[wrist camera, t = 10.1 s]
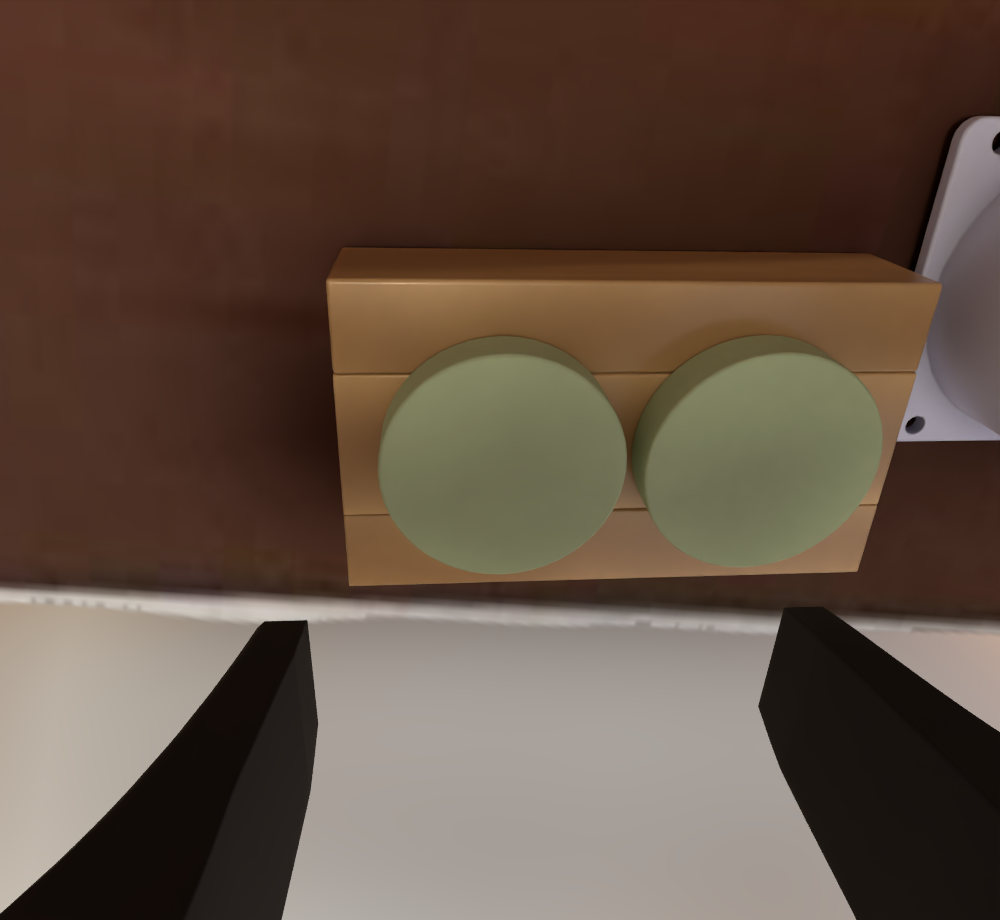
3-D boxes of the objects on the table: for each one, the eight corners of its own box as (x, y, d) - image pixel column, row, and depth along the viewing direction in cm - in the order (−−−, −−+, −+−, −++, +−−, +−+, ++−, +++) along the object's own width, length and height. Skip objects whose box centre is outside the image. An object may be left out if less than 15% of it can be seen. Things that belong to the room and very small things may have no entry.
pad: (599, 298, 18) (641, 353, 15) (582, 486, 20) (614, 572, 17) (382, 296, 18) (371, 354, 14) (390, 489, 20) (382, 579, 16)
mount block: (340, 246, 17) (324, 278, 15) (870, 252, 18) (946, 283, 16) (359, 520, 21) (349, 586, 18) (805, 511, 22) (857, 572, 19)
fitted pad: (821, 299, 19) (914, 352, 15) (779, 481, 21) (850, 565, 17) (615, 297, 18) (660, 352, 15) (596, 484, 21) (631, 571, 17)
